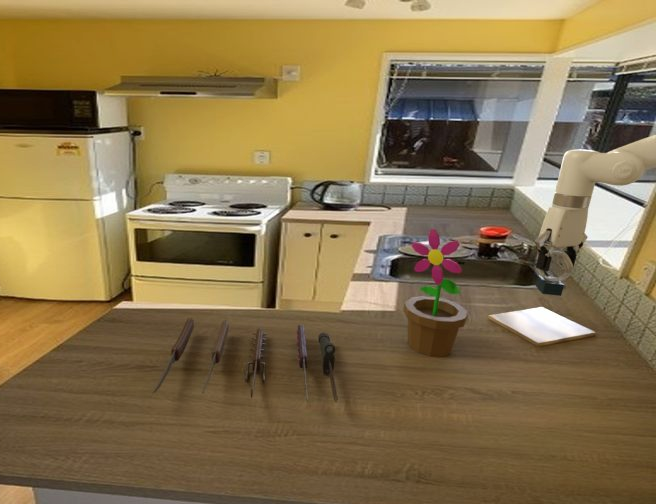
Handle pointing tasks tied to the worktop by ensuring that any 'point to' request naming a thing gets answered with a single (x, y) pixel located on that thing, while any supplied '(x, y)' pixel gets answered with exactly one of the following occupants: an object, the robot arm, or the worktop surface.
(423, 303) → the flowerpot
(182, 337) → the knife set
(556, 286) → the watch
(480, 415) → the worktop surface
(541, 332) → the board
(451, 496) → the worktop surface
